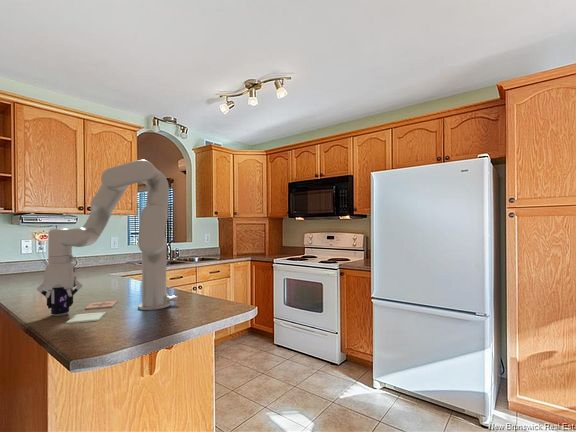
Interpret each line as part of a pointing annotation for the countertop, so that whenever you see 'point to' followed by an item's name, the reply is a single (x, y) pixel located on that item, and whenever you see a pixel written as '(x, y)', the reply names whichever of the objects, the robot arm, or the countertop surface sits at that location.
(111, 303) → the pad
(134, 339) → the countertop surface
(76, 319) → the pad
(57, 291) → the beverage can
